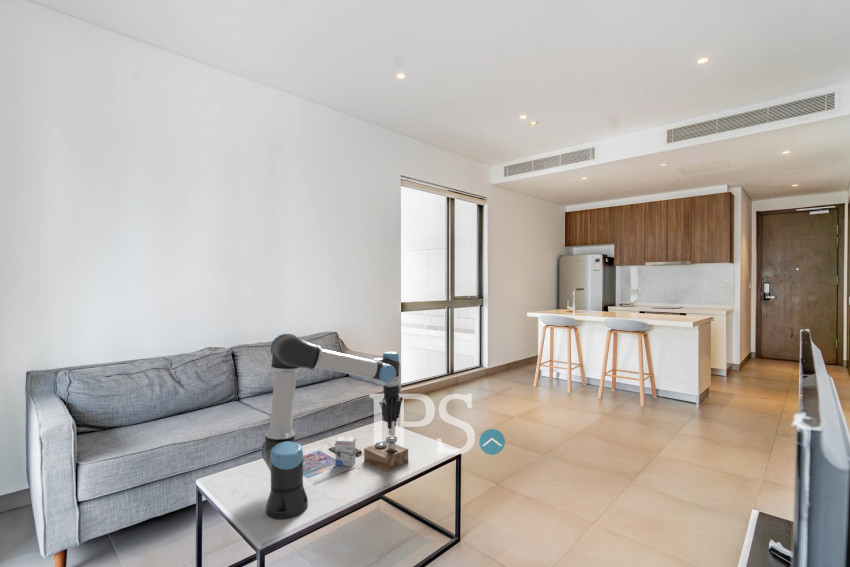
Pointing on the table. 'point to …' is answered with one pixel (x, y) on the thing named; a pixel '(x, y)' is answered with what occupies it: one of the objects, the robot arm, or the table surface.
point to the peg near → (391, 444)
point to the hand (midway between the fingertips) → (391, 434)
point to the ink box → (345, 451)
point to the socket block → (385, 456)
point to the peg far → (380, 445)
